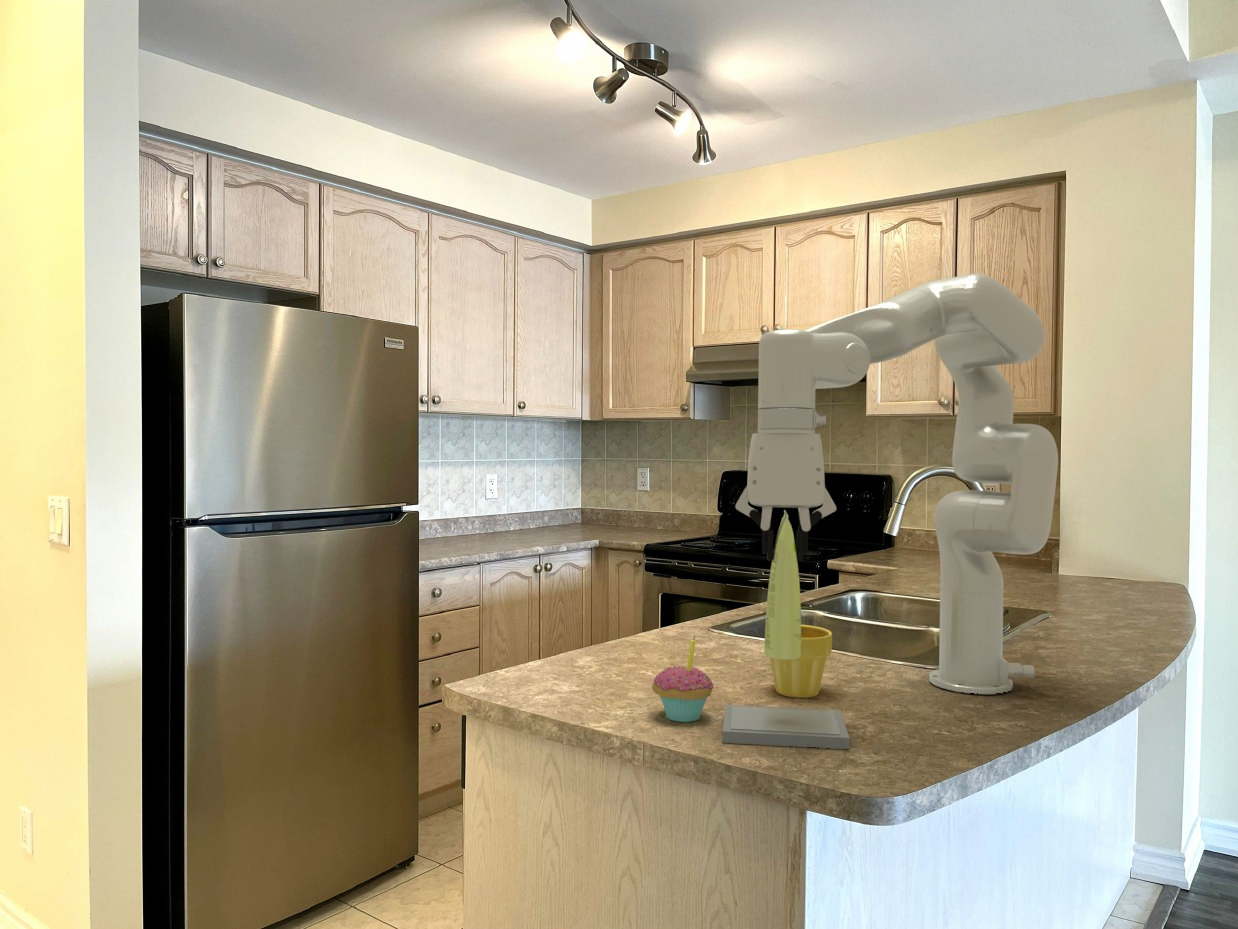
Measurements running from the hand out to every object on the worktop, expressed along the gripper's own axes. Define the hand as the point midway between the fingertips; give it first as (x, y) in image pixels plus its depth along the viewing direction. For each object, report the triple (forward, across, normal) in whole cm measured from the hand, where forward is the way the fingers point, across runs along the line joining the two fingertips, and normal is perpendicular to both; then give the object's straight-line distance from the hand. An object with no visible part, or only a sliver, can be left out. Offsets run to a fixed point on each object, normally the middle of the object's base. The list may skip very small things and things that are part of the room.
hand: (784, 558), depth 117 cm
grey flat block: (+23, 0, 0) cm, 23 cm away
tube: (+13, 0, 0) cm, 13 cm away
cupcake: (+24, +14, -4) cm, 28 cm away
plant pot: (+24, -3, -20) cm, 31 cm away
